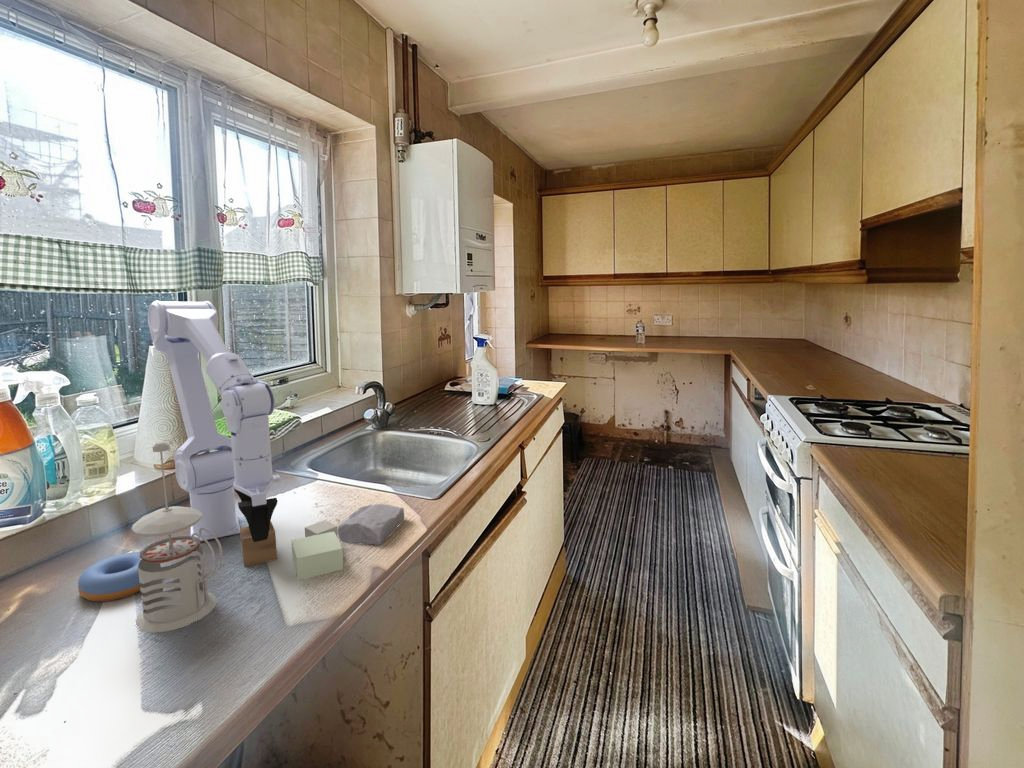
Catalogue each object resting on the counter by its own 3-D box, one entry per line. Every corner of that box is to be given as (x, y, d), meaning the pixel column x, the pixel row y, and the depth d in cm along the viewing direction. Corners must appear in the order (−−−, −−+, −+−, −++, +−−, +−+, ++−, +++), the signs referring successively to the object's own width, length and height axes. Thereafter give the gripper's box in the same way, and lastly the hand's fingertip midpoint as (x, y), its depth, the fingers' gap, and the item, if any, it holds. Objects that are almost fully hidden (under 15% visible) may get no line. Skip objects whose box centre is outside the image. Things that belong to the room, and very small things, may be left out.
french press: (168, 589, 77) (151, 431, 72) (242, 592, 76) (230, 433, 72) (116, 631, 67) (93, 451, 63) (201, 634, 67) (184, 454, 62)
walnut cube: (241, 554, 88) (239, 527, 87) (273, 547, 90) (271, 521, 89) (244, 567, 83) (242, 539, 83) (277, 559, 86) (275, 532, 85)
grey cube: (305, 548, 90) (304, 527, 90) (325, 540, 93) (324, 519, 93) (317, 555, 88) (316, 533, 87) (338, 546, 91) (337, 526, 90)
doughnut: (142, 599, 74) (139, 569, 73) (63, 611, 71) (59, 580, 71) (172, 570, 83) (168, 544, 83) (102, 580, 81) (99, 553, 81)
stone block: (334, 551, 93) (383, 547, 91) (329, 526, 92) (378, 521, 90) (365, 526, 104) (409, 521, 102) (360, 504, 104) (404, 499, 102)
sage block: (292, 561, 86) (291, 540, 85) (335, 552, 89) (334, 531, 89) (298, 581, 80) (296, 558, 79) (343, 570, 83) (342, 548, 83)
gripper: (284, 462, 80) (289, 542, 82) (272, 441, 92) (276, 511, 94) (234, 470, 76) (241, 553, 78) (228, 447, 88) (234, 519, 90)
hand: (257, 531), depth 86 cm, fingers open, 7 cm apart
